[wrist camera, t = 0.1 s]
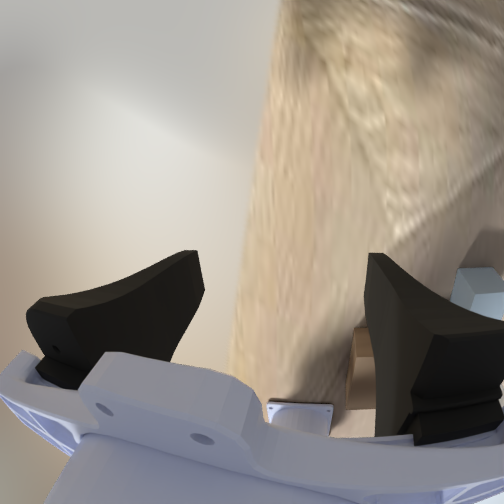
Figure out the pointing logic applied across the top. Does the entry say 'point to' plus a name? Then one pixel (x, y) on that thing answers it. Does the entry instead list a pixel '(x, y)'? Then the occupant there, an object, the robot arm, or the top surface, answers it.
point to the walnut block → (361, 373)
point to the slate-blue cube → (479, 291)
